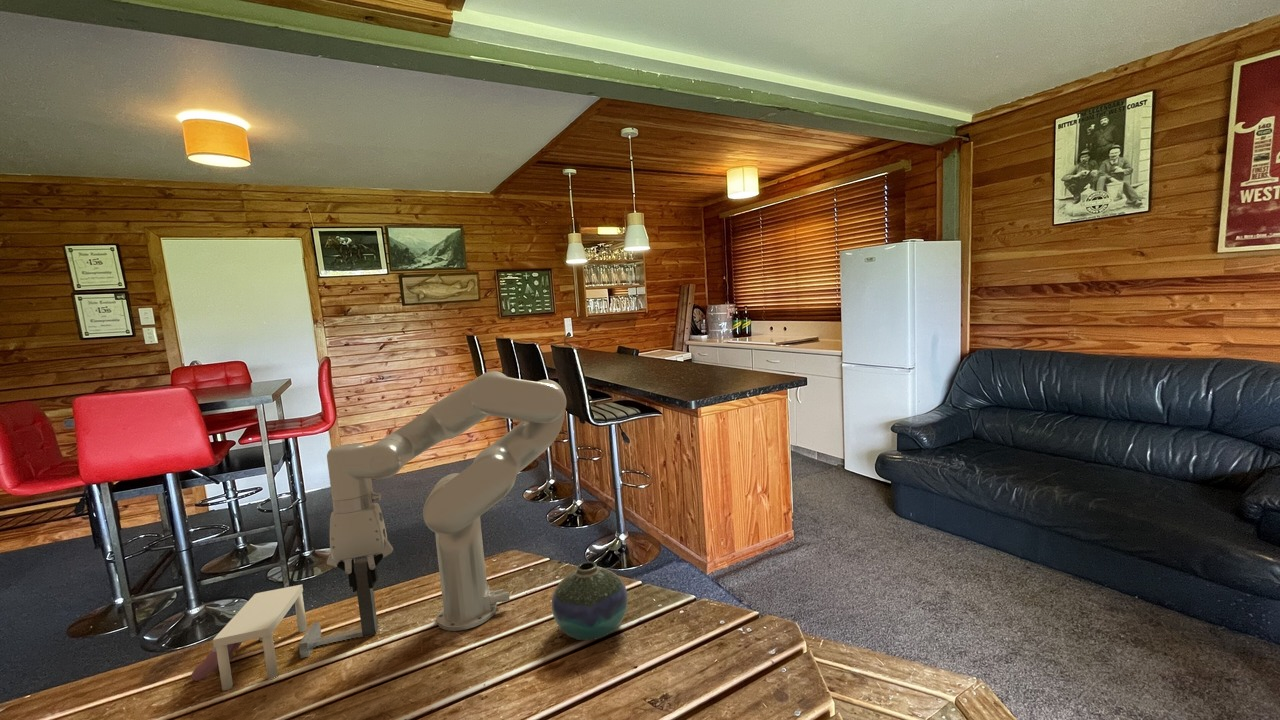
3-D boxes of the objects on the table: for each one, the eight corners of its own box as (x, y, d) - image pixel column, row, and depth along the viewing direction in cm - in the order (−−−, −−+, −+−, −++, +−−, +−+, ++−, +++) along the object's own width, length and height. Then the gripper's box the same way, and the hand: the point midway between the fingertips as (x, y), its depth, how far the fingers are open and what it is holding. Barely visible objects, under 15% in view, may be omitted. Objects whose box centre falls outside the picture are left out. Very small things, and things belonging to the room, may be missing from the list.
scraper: (380, 621, 115) (371, 552, 114) (372, 642, 108) (363, 567, 106) (313, 636, 112) (303, 564, 111) (300, 658, 104) (290, 581, 103)
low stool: (308, 627, 116) (302, 584, 115) (276, 678, 98) (269, 627, 98) (261, 637, 113) (255, 593, 113) (220, 691, 96) (212, 639, 95)
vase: (595, 663, 95) (588, 592, 94) (538, 637, 104) (532, 573, 103) (645, 620, 107) (639, 558, 106) (590, 601, 116) (585, 544, 115)
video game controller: (212, 687, 100) (226, 653, 100) (187, 681, 99) (200, 647, 99) (242, 656, 110) (254, 625, 110) (219, 650, 109) (232, 619, 109)
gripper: (398, 491, 115) (408, 571, 116) (316, 504, 110) (327, 587, 112) (392, 501, 108) (402, 587, 109) (304, 515, 103) (316, 604, 104)
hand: (364, 586), depth 110 cm, fingers closed on scraper, 2 cm apart
